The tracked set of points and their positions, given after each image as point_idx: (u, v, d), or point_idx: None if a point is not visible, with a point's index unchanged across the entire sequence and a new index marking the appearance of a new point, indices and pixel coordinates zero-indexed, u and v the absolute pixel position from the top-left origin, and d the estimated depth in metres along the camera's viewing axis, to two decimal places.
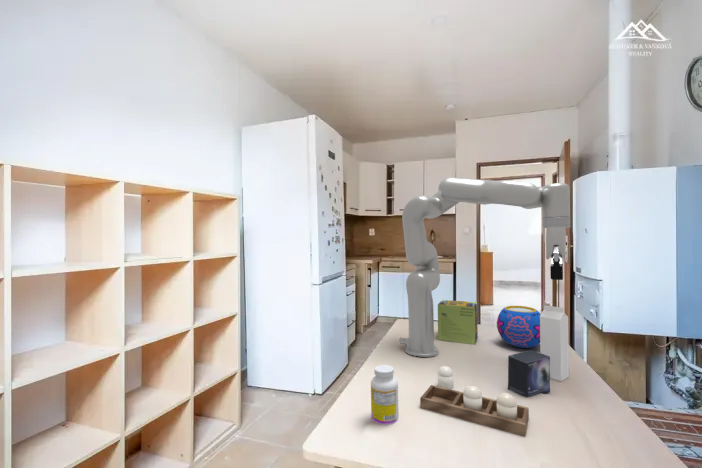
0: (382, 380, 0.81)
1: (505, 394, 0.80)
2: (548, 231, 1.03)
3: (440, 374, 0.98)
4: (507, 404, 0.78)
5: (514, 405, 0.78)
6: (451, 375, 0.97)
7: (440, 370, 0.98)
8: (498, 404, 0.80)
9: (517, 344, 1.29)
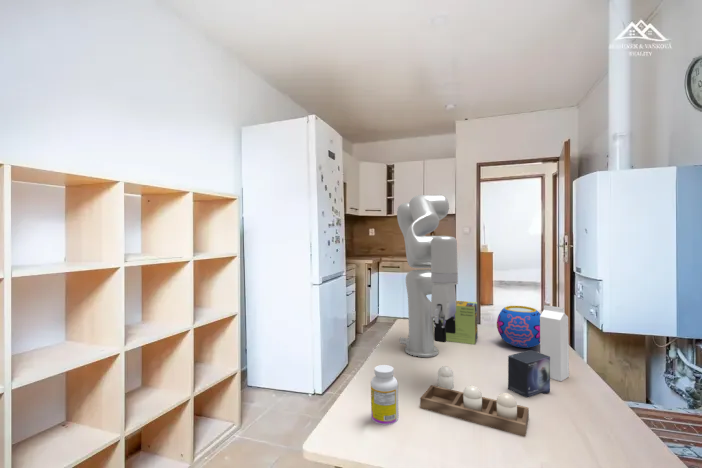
0: (382, 380, 0.81)
1: (505, 394, 0.80)
2: (433, 288, 0.96)
3: (440, 374, 0.98)
4: (507, 404, 0.78)
5: (514, 405, 0.78)
6: (451, 375, 0.97)
7: (440, 370, 0.98)
8: (498, 404, 0.80)
9: (517, 344, 1.29)
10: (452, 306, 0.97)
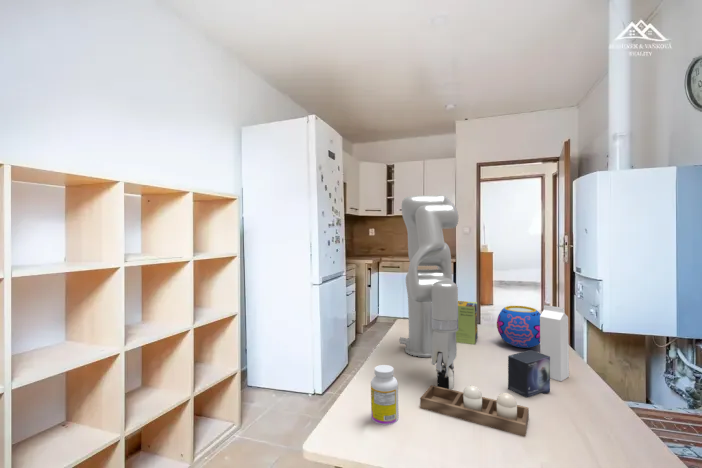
0: (382, 380, 0.81)
1: (505, 394, 0.80)
2: (433, 335, 0.96)
3: None
4: (507, 404, 0.78)
5: (514, 405, 0.78)
6: (451, 375, 0.97)
7: None
8: (498, 404, 0.80)
9: (517, 344, 1.29)
10: (452, 352, 0.97)
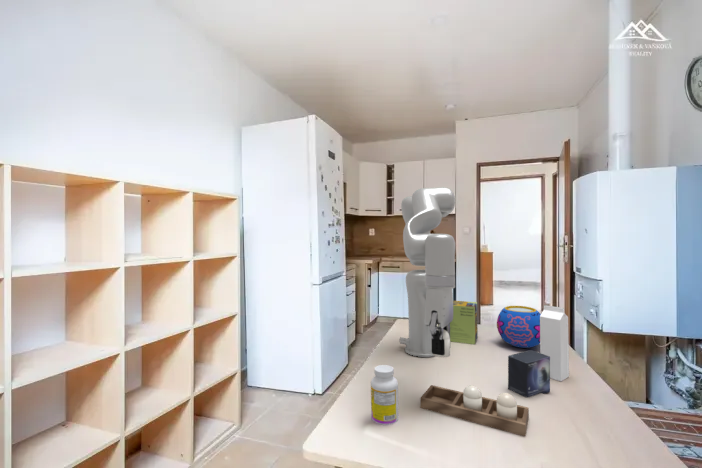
0: (382, 380, 0.81)
1: (505, 394, 0.80)
2: (427, 293, 0.86)
3: None
4: (507, 404, 0.78)
5: (514, 405, 0.78)
6: (447, 338, 0.86)
7: None
8: (498, 404, 0.80)
9: (517, 344, 1.29)
10: (449, 312, 0.87)
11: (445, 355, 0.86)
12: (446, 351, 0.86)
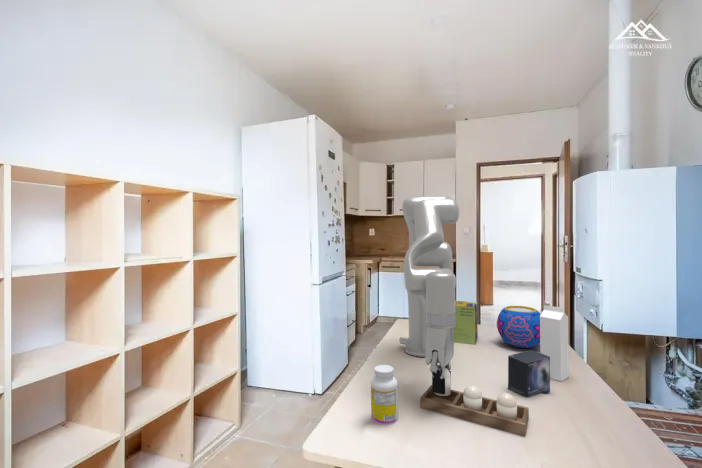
0: (382, 380, 0.81)
1: (505, 394, 0.80)
2: (427, 331, 0.86)
3: None
4: (507, 404, 0.78)
5: (514, 405, 0.78)
6: (448, 376, 0.86)
7: None
8: (498, 404, 0.80)
9: (517, 344, 1.29)
10: (449, 351, 0.86)
11: (446, 394, 0.86)
12: (447, 390, 0.86)
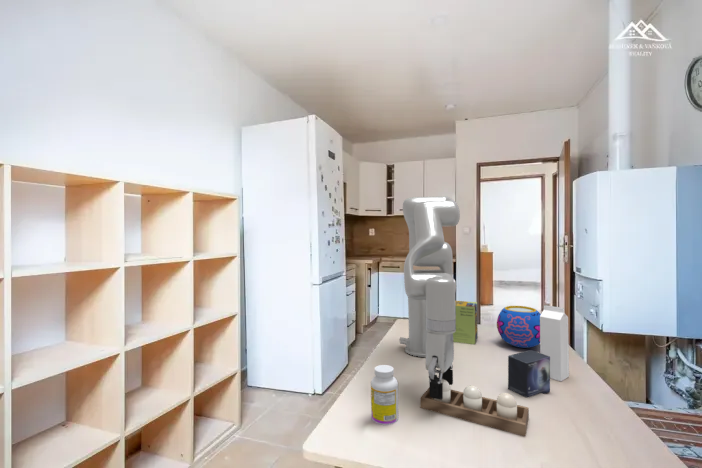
0: (382, 380, 0.81)
1: (505, 394, 0.80)
2: (428, 337, 0.86)
3: None
4: (507, 404, 0.78)
5: (514, 405, 0.78)
6: (448, 389, 0.87)
7: None
8: (498, 404, 0.80)
9: (517, 344, 1.29)
10: (449, 356, 0.87)
11: None
12: None
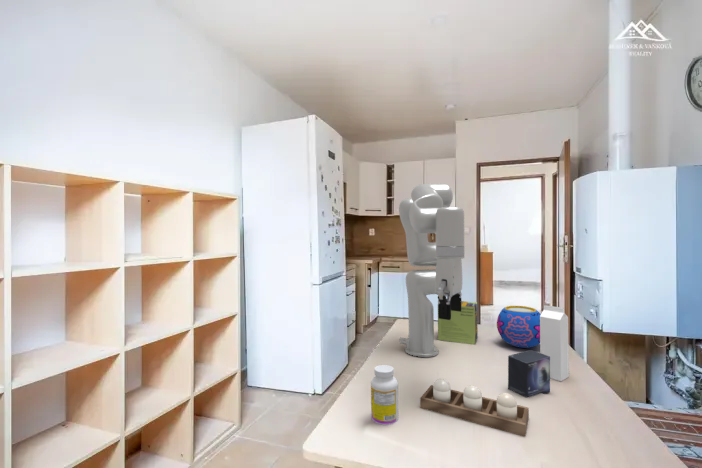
0: (382, 380, 0.81)
1: (505, 394, 0.80)
2: (437, 263, 0.89)
3: (435, 388, 0.87)
4: (507, 404, 0.78)
5: (514, 405, 0.78)
6: (448, 389, 0.87)
7: (435, 383, 0.88)
8: (498, 404, 0.80)
9: (517, 344, 1.29)
10: (458, 282, 0.90)
11: None
12: None
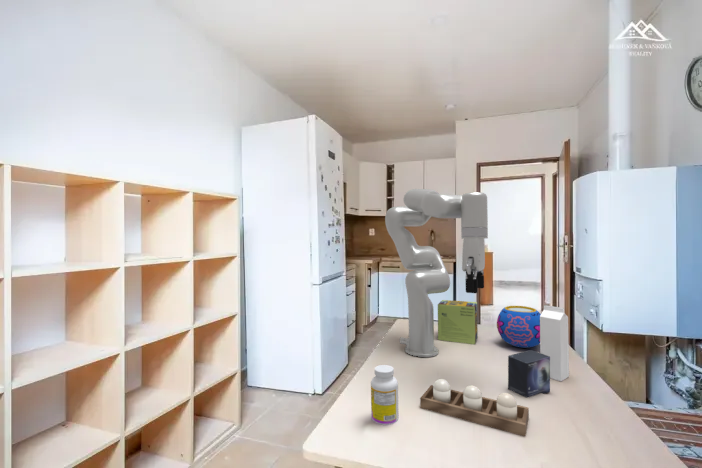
0: (382, 380, 0.81)
1: (505, 394, 0.80)
2: (464, 242, 0.99)
3: (435, 388, 0.87)
4: (507, 404, 0.78)
5: (514, 405, 0.78)
6: (448, 389, 0.87)
7: (435, 383, 0.88)
8: (498, 404, 0.80)
9: (517, 344, 1.29)
10: (482, 260, 1.00)
11: None
12: None
